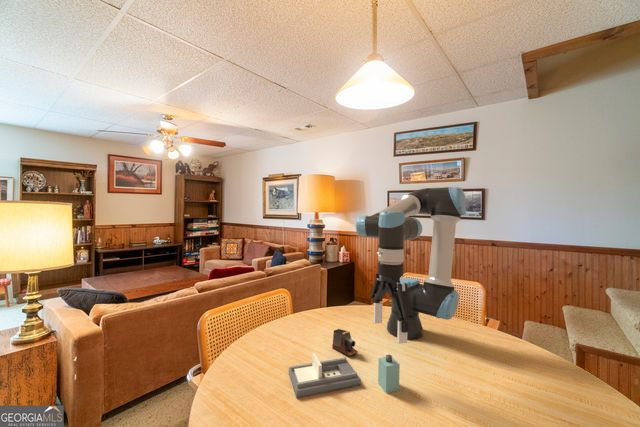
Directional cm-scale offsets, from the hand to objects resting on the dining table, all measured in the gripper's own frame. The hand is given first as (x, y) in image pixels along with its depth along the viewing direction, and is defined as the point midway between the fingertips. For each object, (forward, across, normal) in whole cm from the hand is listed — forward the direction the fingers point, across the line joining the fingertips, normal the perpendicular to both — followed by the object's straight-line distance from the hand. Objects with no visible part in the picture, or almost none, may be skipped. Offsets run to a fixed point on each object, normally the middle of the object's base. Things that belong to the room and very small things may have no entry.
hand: (389, 332), depth 82 cm
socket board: (+17, -9, -18) cm, 26 cm away
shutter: (+15, -9, -23) cm, 29 cm away
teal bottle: (+17, 0, 0) cm, 17 cm away
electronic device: (+17, -23, -5) cm, 29 cm away
